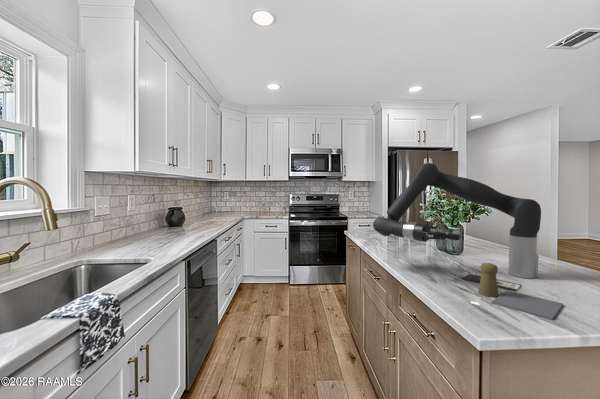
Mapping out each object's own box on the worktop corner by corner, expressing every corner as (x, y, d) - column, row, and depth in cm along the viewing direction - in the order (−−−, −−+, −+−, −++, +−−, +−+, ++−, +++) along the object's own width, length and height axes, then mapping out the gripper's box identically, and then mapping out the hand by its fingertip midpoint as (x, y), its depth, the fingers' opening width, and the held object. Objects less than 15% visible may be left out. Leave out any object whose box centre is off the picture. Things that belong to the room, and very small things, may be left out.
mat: (491, 303, 92) (491, 301, 92) (507, 291, 102) (507, 290, 102) (552, 320, 80) (552, 317, 80) (562, 305, 90) (562, 303, 90)
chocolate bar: (469, 273, 122) (521, 284, 109) (469, 275, 122) (521, 286, 109) (461, 278, 116) (515, 290, 103) (461, 280, 116) (515, 292, 103)
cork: (502, 296, 98) (503, 265, 98) (490, 298, 96) (491, 266, 95) (485, 290, 104) (486, 260, 103) (474, 292, 101) (475, 262, 101)
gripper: (408, 224, 116) (452, 229, 102) (424, 221, 124) (466, 226, 111) (407, 242, 116) (451, 249, 103) (423, 238, 124) (466, 245, 111)
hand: (459, 237), depth 107 cm, fingers closed
